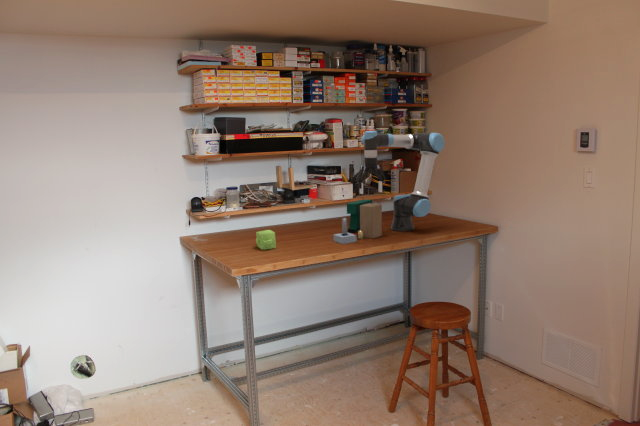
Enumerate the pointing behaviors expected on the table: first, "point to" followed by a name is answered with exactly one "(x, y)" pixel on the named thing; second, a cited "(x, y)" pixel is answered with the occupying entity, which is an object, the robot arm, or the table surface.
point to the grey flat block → (344, 238)
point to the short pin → (360, 234)
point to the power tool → (355, 215)
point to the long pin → (344, 226)
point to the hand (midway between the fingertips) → (370, 193)
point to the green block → (266, 239)
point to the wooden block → (371, 220)
